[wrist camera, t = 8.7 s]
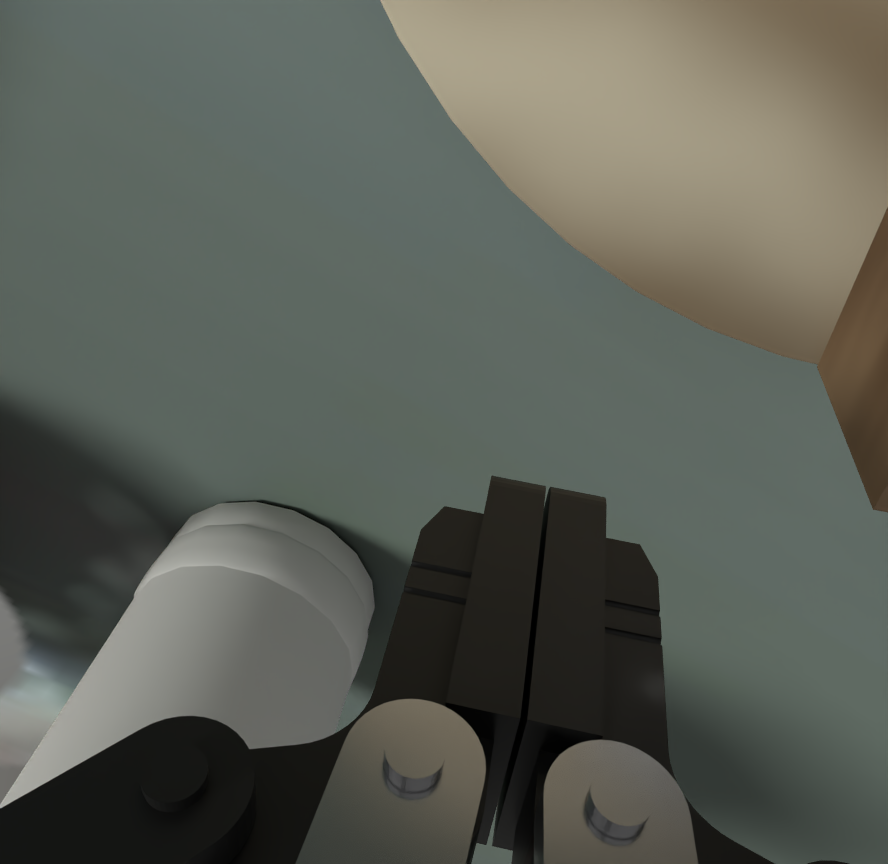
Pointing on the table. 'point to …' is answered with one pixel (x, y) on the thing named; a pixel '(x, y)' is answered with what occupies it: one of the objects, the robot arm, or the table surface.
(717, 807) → the table surface
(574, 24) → the turntable
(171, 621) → the bottle
